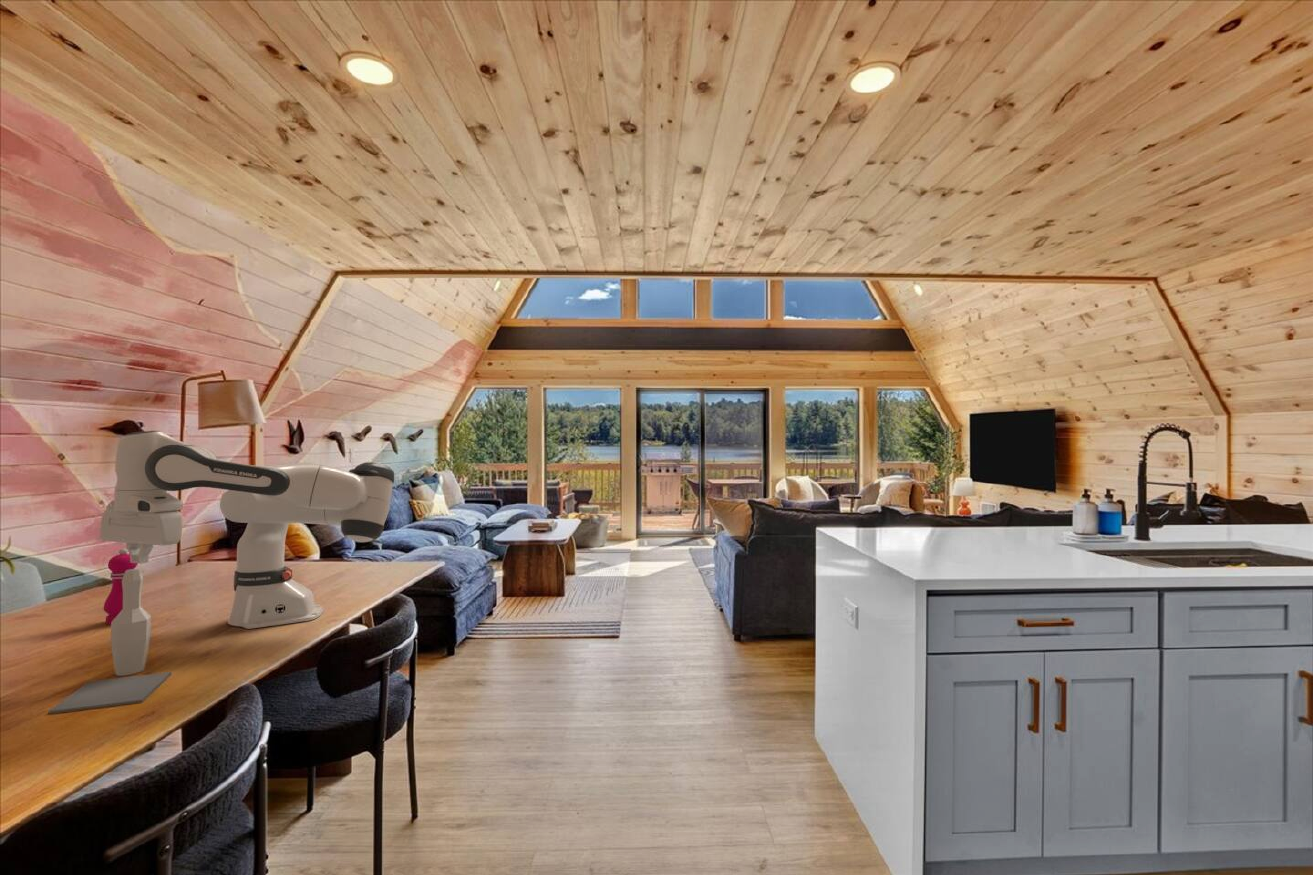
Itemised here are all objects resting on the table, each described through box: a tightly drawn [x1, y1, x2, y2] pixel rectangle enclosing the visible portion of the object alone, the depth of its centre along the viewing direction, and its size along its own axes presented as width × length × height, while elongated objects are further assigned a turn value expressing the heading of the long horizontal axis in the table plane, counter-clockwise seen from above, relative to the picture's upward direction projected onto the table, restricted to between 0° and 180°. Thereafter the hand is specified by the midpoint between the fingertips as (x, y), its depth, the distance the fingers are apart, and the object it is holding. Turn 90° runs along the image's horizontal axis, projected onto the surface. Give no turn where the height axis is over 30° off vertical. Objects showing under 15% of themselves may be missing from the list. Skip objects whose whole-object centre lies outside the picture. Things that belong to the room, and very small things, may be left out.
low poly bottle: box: [110, 568, 152, 677], centre depth 123 cm, size 6×6×22 cm
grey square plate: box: [48, 671, 172, 715], centre depth 113 cm, size 14×14×1 cm
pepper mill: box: [103, 548, 139, 626], centre depth 156 cm, size 7×7×20 cm
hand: (139, 562), depth 129 cm, fingers closed
